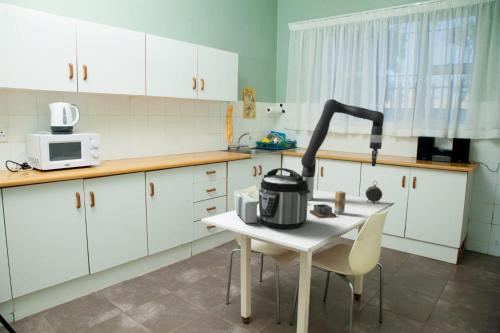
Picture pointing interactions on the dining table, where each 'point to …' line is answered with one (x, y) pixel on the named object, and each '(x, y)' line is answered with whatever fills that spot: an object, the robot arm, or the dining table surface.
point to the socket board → (322, 211)
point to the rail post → (339, 203)
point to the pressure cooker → (283, 199)
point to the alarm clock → (373, 193)
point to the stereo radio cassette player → (247, 207)
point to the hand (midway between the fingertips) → (373, 165)
